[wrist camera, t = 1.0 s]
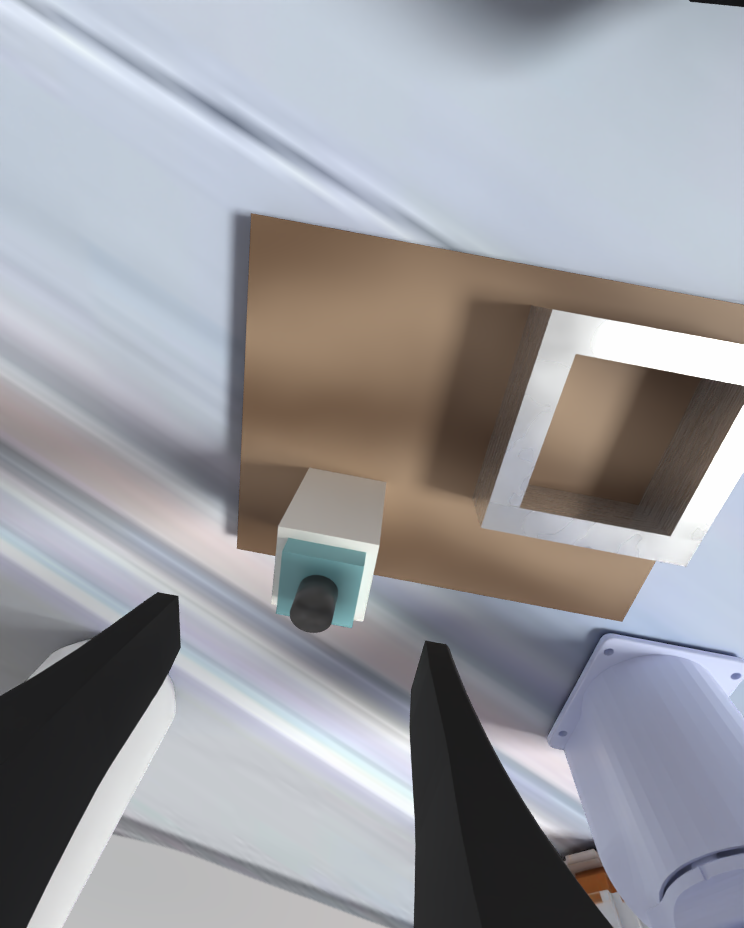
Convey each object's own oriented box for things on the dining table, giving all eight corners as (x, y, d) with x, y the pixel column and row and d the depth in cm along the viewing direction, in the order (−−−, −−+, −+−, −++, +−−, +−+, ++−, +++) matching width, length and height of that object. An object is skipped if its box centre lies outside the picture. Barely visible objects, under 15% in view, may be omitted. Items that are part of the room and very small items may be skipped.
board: (613, 607, 22) (622, 621, 21) (243, 537, 22) (236, 548, 21) (771, 312, 16) (793, 313, 15) (260, 217, 16) (251, 213, 15)
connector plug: (373, 546, 21) (357, 665, 14) (301, 532, 21) (253, 645, 14) (386, 482, 19) (375, 583, 13) (309, 467, 19) (259, 561, 13)
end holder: (652, 532, 19) (685, 566, 17) (472, 498, 19) (480, 527, 17) (752, 346, 16) (811, 357, 13) (531, 305, 16) (552, 309, 13)
